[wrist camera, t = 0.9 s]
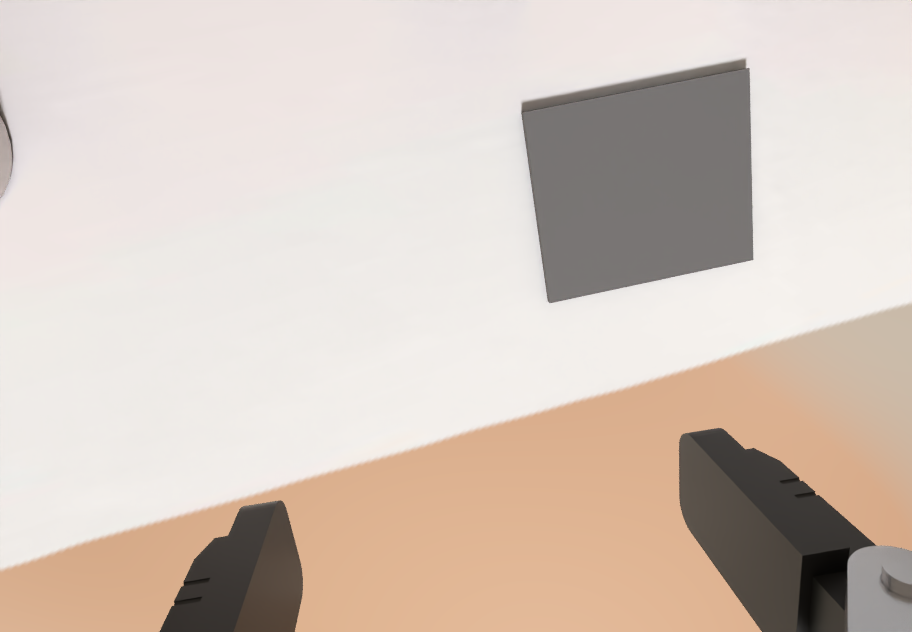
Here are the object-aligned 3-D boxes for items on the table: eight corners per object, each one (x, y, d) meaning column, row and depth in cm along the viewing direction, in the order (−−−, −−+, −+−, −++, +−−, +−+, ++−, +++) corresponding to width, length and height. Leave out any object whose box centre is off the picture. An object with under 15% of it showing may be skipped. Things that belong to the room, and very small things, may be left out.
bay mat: (548, 301, 38) (549, 303, 38) (521, 112, 34) (523, 112, 34) (748, 258, 39) (753, 259, 38) (744, 68, 35) (749, 68, 35)
